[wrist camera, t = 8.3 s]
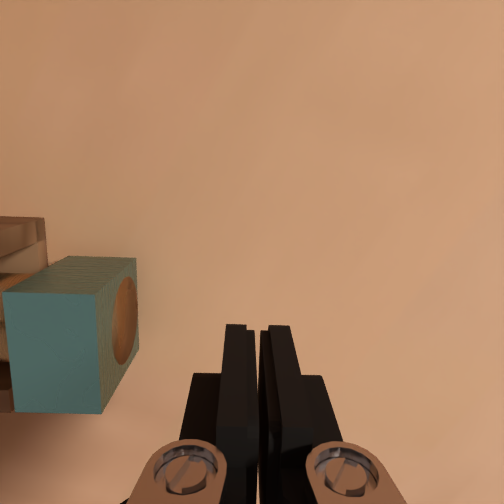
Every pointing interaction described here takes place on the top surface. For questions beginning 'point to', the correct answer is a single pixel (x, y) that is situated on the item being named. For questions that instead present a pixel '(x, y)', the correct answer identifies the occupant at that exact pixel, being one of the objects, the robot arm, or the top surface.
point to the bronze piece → (69, 333)
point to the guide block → (19, 261)
